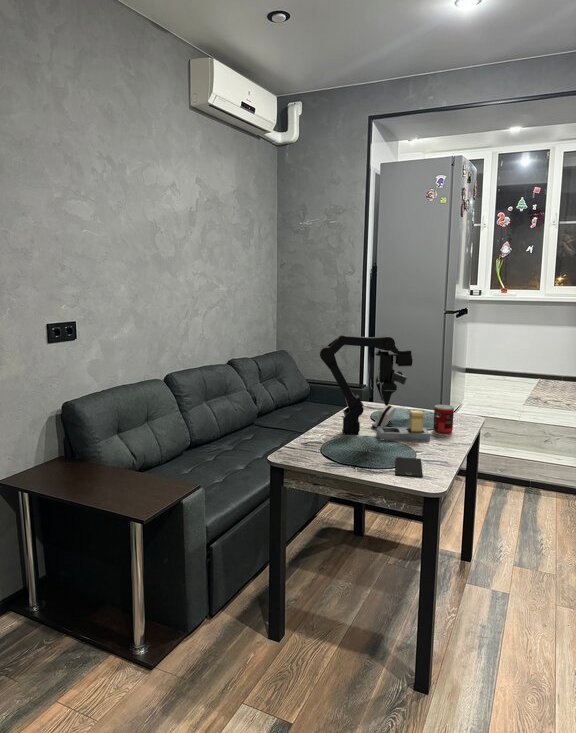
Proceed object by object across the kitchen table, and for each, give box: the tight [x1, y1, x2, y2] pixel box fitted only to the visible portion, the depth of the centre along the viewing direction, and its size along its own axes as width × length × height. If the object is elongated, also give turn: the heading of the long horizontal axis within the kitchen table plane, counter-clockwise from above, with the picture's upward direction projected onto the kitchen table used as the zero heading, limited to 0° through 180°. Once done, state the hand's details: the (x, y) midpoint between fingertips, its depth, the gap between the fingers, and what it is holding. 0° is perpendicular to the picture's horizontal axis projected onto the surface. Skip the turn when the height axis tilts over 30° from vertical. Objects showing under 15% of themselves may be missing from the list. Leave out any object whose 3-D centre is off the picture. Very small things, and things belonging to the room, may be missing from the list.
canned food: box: [433, 404, 455, 435], centre depth 229 cm, size 8×8×11 cm
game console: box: [370, 404, 397, 429], centre depth 239 cm, size 17×5×10 cm, turn 155°
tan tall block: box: [408, 409, 424, 433], centre depth 219 cm, size 5×5×11 cm
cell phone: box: [394, 456, 424, 478], centre depth 185 cm, size 9×18×1 cm, turn 168°
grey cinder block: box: [376, 426, 431, 442], centre depth 220 cm, size 20×9×3 cm, turn 89°
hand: (384, 403), depth 224 cm, fingers open, 9 cm apart
